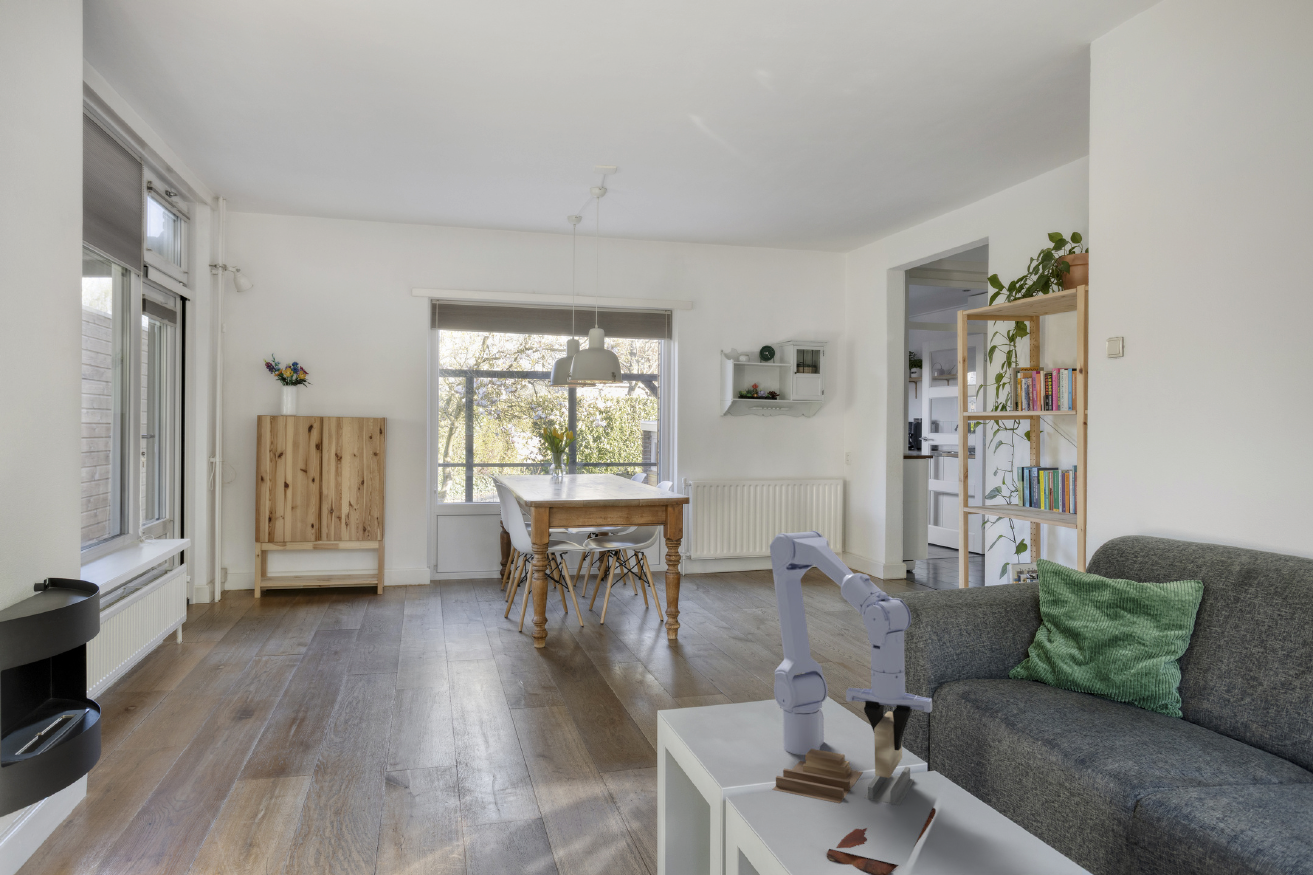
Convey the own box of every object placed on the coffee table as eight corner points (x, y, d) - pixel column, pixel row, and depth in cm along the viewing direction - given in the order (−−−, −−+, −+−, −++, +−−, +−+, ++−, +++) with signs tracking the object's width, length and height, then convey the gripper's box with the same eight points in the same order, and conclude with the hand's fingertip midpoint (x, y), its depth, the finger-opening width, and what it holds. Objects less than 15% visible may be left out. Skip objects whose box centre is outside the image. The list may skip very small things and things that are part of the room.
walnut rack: (800, 765, 154) (800, 752, 154) (863, 777, 148) (862, 763, 148) (772, 794, 141) (772, 780, 141) (839, 808, 135) (839, 793, 135)
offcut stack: (808, 764, 152) (808, 748, 152) (850, 771, 148) (850, 755, 148) (802, 770, 149) (802, 754, 149) (845, 778, 145) (845, 761, 145)
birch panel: (875, 775, 137) (874, 728, 137) (888, 755, 145) (887, 711, 146) (889, 777, 136) (888, 730, 136) (902, 757, 144) (901, 713, 144)
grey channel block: (880, 778, 147) (880, 762, 147) (914, 784, 144) (914, 767, 144) (863, 803, 137) (863, 785, 137) (899, 810, 134) (899, 792, 134)
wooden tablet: (888, 883, 112) (888, 871, 112) (822, 862, 118) (822, 851, 118) (945, 814, 134) (945, 804, 134) (887, 799, 140) (886, 789, 140)
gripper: (934, 668, 141) (936, 746, 141) (853, 659, 148) (854, 733, 148) (927, 678, 135) (928, 759, 135) (842, 668, 142) (843, 745, 142)
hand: (889, 746), depth 141 cm, fingers closed on birch panel, 2 cm apart
